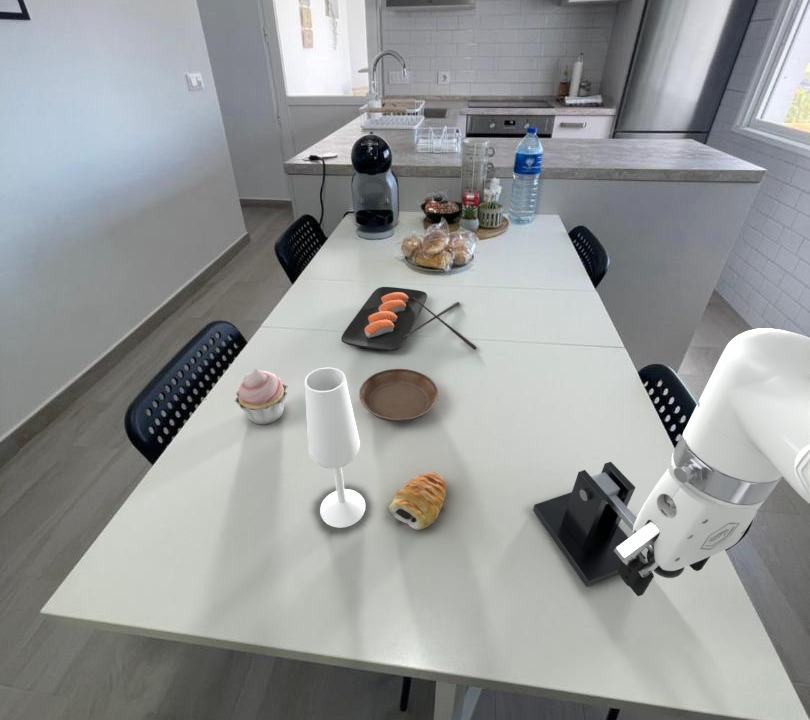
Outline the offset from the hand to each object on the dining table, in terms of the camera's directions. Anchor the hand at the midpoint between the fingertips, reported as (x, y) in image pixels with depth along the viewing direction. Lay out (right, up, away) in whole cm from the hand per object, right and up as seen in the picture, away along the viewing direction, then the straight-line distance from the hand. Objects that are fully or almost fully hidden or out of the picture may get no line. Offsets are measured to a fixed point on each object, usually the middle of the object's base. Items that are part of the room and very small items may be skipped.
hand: (659, 570), depth 50 cm
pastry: (-26, +2, +16) cm, 31 cm away
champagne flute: (-37, +1, +16) cm, 41 cm away
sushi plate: (-25, +32, +58) cm, 71 cm away
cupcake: (-54, +13, +33) cm, 65 cm away
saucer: (-29, +15, +35) cm, 48 cm away
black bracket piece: (-3, -1, +12) cm, 13 cm away
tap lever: (-2, +3, +3) cm, 5 cm away
